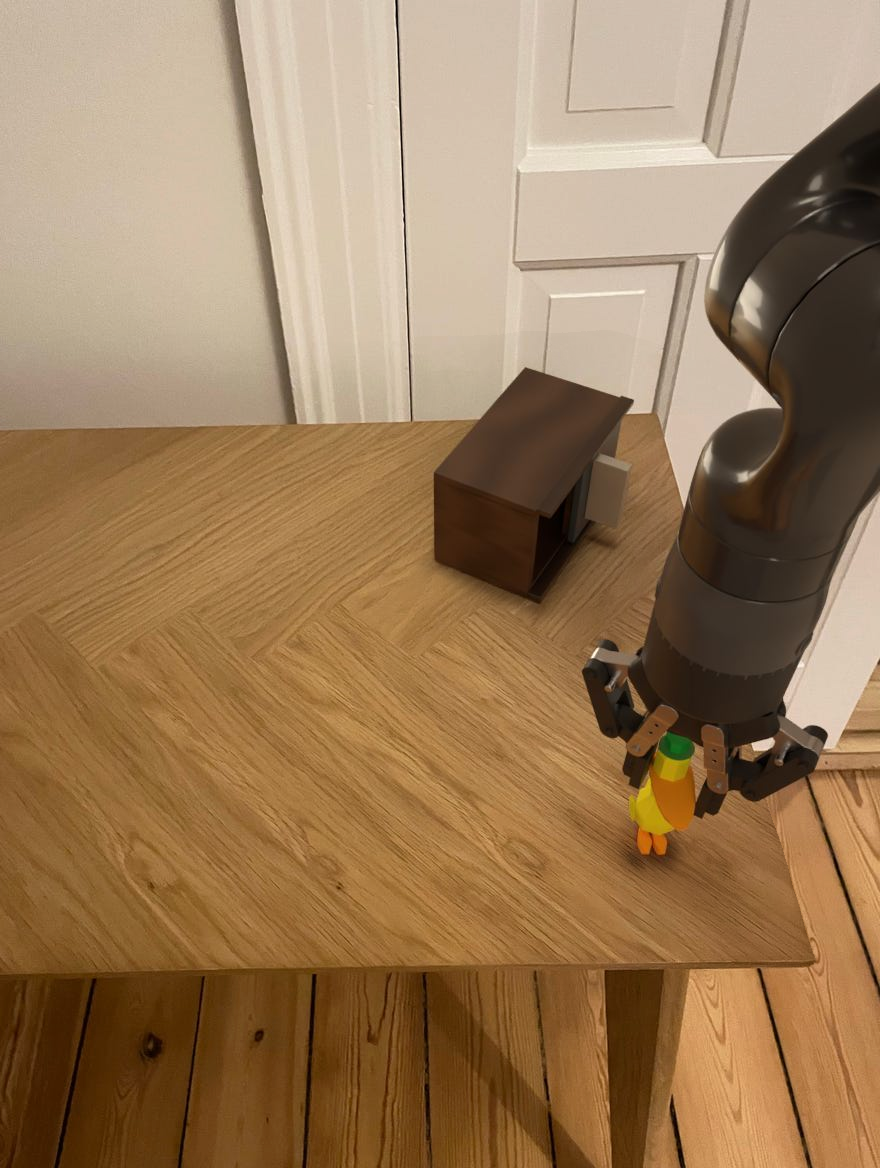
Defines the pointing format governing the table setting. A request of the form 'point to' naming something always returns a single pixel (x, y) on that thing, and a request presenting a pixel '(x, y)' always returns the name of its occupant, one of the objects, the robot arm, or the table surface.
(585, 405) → the cupboard
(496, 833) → the table surface
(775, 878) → the table surface
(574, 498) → the door
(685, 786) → the toy figure
